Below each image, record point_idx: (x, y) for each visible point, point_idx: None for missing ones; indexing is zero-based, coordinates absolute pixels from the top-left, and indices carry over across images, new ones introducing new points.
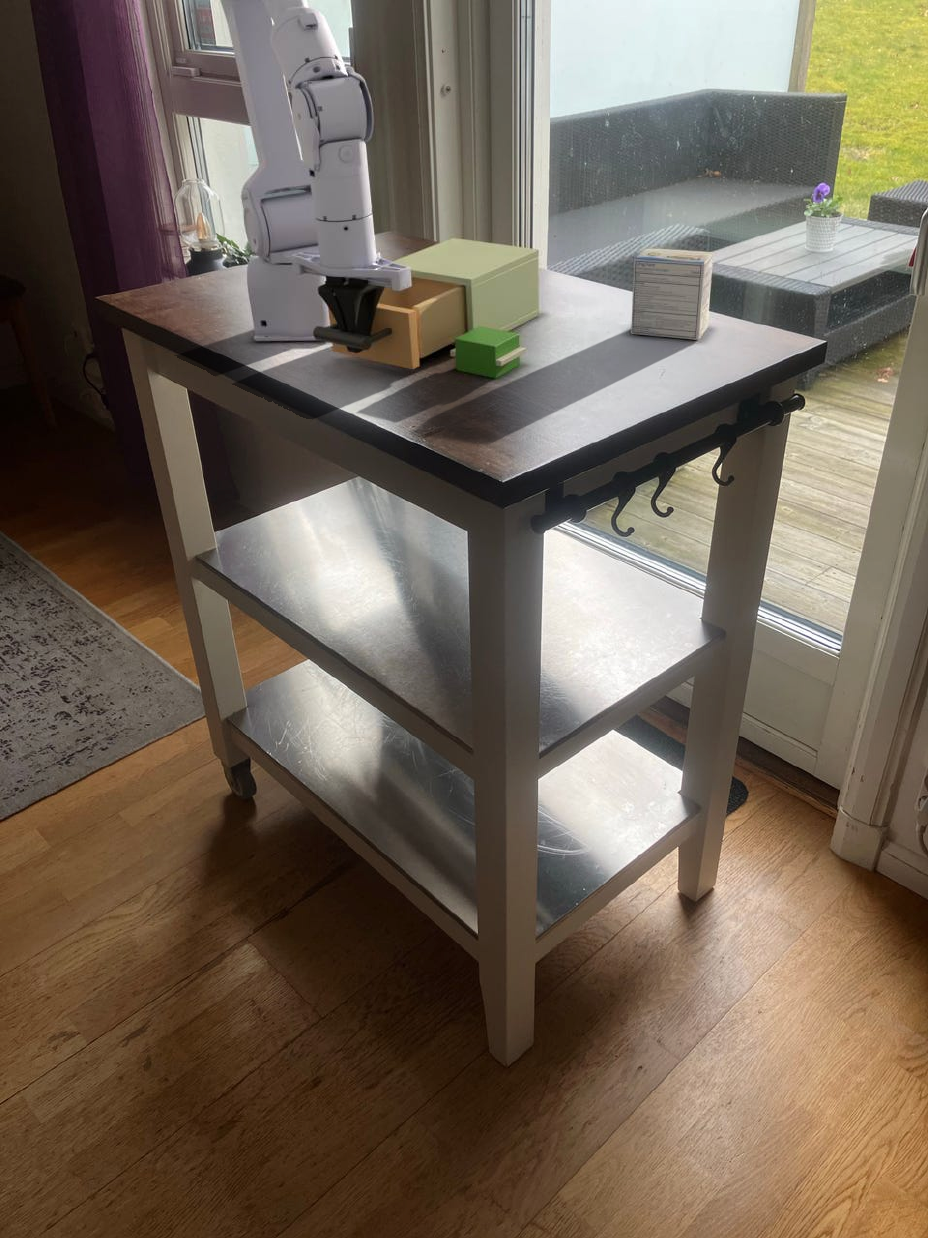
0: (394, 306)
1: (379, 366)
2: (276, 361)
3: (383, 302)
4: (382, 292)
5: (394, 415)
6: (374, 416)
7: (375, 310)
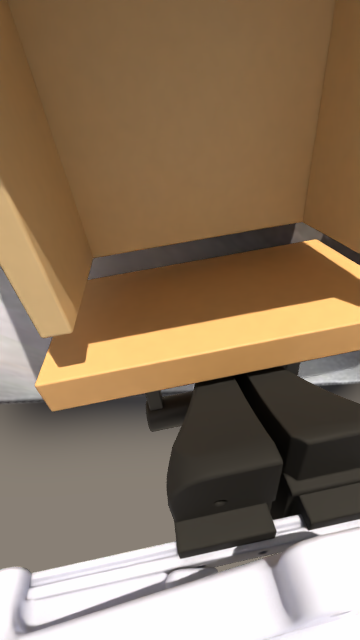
0: (339, 327)
1: (197, 256)
2: (7, 365)
3: (2, 77)
4: (346, 399)
5: (345, 358)
6: (321, 373)
7: (285, 369)
